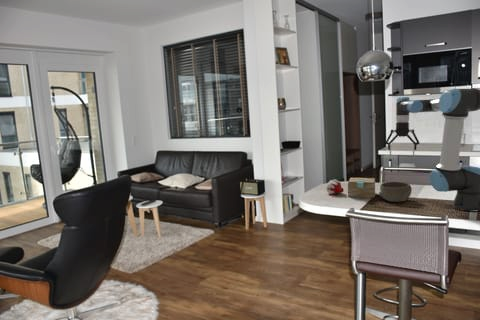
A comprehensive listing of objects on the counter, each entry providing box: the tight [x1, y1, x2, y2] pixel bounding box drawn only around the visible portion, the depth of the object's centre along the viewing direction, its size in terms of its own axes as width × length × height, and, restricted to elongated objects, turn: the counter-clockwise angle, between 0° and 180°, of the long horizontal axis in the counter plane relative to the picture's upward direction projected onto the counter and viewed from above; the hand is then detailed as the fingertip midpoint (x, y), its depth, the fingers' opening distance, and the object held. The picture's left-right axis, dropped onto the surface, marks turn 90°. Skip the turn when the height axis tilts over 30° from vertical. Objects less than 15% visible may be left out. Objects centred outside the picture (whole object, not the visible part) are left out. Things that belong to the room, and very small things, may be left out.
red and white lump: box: [326, 178, 344, 195], centre depth 259 cm, size 9×11×15 cm
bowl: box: [378, 181, 413, 203], centre depth 236 cm, size 17×18×10 cm
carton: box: [347, 179, 376, 199], centre depth 254 cm, size 14×16×9 cm
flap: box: [348, 177, 376, 189], centre depth 249 cm, size 22×15×4 cm
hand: (401, 155), depth 252 cm, fingers open, 13 cm apart
